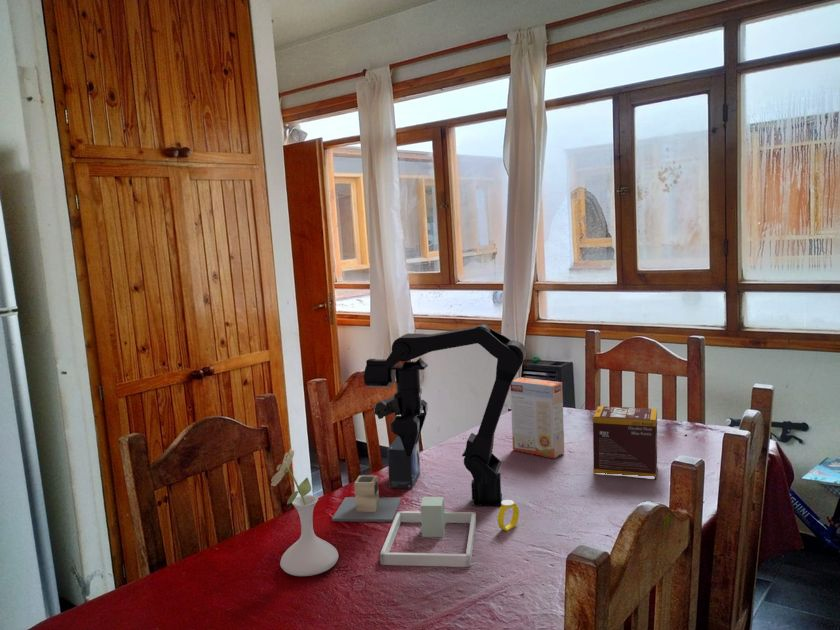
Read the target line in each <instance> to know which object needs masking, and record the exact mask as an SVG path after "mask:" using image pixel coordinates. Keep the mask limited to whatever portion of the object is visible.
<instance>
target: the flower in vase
mask: <svg viewBox="0 0 840 630" xmlns="http://www.w3.org/2000/svg"><path fill="white" fill-rule="evenodd" d="M294 455H295V449H292V448H290V449H289V451H288V452H286V453H285V454H284V456H283V460H282V464H278V465H277V467H276V471H277V472H276V473H275V475H274V476H273V477H272V478H271V481H270V482H271V483H270V485H271V487H272V486H273V487H276V486H277V485H278V484H279V483H280V482H281V481H282V480H283V477H284V476H285V474H286V473H289V475H290V476H291V478H292V479H293V480H292V481H294V484H295V485H296V488H297V490H296V491H294V492H293V493H292V494H291V495H290V496H289V498H288V500H287V502H286V503H287V504H286V505H289V504H292V506H294V507H295V509H296V511H297V512H298V515H299V516H298V517H299V519H300V528H301V532H300V537H299V538H298V539H297V540H296V542H294V543H293V544H291V546H289V547H288V548H287V549H286V550H285V552H284V553H283V554H282V556H281V559H280V560H279V561H280V562H279V564H280V565H279V566H280V568H281V569H282V570H283V571H284V572H285V573H287V574H288V575H291V576H295V577H310V576H315V575H319V574H322V573H324V572H327V571H329V570H330V569H331V568H332V567H334V566H335V565H336V563H338V562H337V561H339V553H338V549H337V548H336V547H335V546H333V544H331V542H328V541H326V540H324V539H322V538H320V537H318V536H317V535H316V534H315V532H314V531H315V530H314V527H313V526H314V525H313V524H314V523H313V519H314V518H313V516H314V515H313V514H314V508H315V507H316V504H317V502H318V501H319V498H318V496H315V495H312V494H309V493H310V492H311V491H312V486H311V483H310V480H309V478H308V477H306V478H305V479H303V481H301V483H300V484H298V482H297V480H296V478H295V476H294V475H293V473H292V471H291V470H290V466H291V464H292V461H293V458H294ZM298 494H299V495H300V496H298Z"/></svg>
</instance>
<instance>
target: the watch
mask: <svg viewBox="0 0 840 630" xmlns="http://www.w3.org/2000/svg"><path fill="white" fill-rule="evenodd" d="M511 508H512V517H511V520H510V522H509V524H507V525H506V526H505V523H504V522H505V521H504V520H505V519H504V518H505V514H506V511H507V510H508V509H511ZM519 516H520V510H519V507H518V505H517V504H516V503H515V501H514V500H512V499H504V500H503V499H502V502H501V506H500V508H499V511H498V514H497V524H498V527H499V529H501V530H502V531H506V532H509V531H510V530H511V529H513V528H515V527H516V526H517V523H518V521H519Z"/></svg>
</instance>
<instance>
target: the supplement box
mask: <svg viewBox="0 0 840 630" xmlns="http://www.w3.org/2000/svg"><path fill="white" fill-rule="evenodd" d="M592 434H593V436H592V442H593V443H592V444H593V446H592V448H593V449H592V450H593V459H592V460H593V471H592V472H593V473H605V474H606V473H607V474H622V475H638V476H654V477H656V478H657V473H656V471H657V470H658V410H657V408H643V407H627V406H626V407H625V406H603V405H601V406H599V405H598V406H597V407H596V410H595V411H594V415H593V417H592ZM657 472H658V471H657Z"/></svg>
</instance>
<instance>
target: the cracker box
mask: <svg viewBox="0 0 840 630" xmlns="http://www.w3.org/2000/svg"><path fill="white" fill-rule="evenodd" d="M563 393H564V392H563V382H562V381H554V380H545V379H540V378H529V377H522V376H521V377H518V378H514V379H513V381H512V383H511V385H510V403H511V404H510V407H511V410H510V411H511V431H512V432H511V434H512V435H511V436H512V438H511V439H512V450H513V451H516V450H517V451H516V452H520V451H522V453H525V452H526V453H525V454H530V453H531V454H530V455H534V454H536V455H535V456H539V455H540V457H545V458H548V457H549V458H550V459H553V458H555V459H556V458H558V457H560V456H562V455H564V454H565V433H564V432H565V431H564V430H565V429H564V426H565V425H564V397H563ZM563 453H564V454H563ZM561 454H562V455H561ZM559 455H560V456H559Z"/></svg>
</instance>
